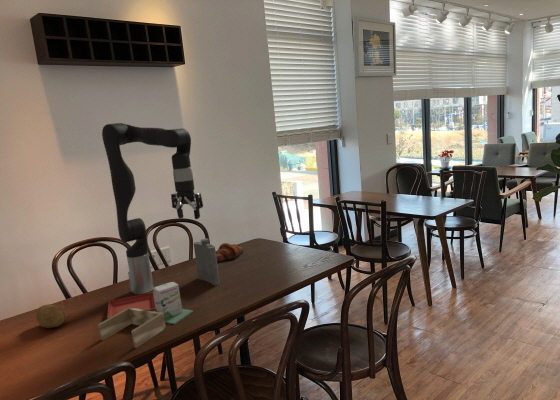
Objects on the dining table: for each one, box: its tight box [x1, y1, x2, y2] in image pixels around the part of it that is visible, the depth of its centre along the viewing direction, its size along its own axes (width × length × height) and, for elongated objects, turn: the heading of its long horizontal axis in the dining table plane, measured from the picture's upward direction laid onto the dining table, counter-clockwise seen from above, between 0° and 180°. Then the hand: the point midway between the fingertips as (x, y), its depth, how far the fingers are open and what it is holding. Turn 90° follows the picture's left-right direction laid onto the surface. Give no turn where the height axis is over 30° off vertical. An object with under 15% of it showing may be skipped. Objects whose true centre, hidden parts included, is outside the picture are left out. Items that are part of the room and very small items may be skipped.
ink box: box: [152, 281, 183, 319], centre depth 166 cm, size 8×5×12 cm, turn 129°
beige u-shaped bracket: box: [97, 307, 167, 349], centre depth 154 cm, size 17×14×6 cm
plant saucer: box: [107, 292, 157, 319], centre depth 175 cm, size 18×18×3 cm
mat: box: [164, 308, 194, 326], centre depth 167 cm, size 14×11×1 cm
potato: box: [35, 303, 67, 329], centre depth 167 cm, size 10×14×8 cm
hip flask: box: [193, 238, 221, 286], centre depth 198 cm, size 16×4×20 cm, turn 41°
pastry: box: [216, 242, 244, 263], centre depth 233 cm, size 17×15×8 cm
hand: (189, 218), depth 175 cm, fingers open, 8 cm apart
